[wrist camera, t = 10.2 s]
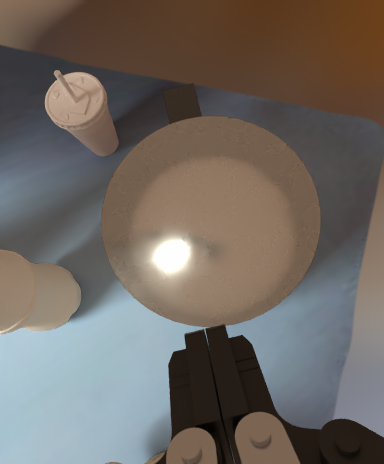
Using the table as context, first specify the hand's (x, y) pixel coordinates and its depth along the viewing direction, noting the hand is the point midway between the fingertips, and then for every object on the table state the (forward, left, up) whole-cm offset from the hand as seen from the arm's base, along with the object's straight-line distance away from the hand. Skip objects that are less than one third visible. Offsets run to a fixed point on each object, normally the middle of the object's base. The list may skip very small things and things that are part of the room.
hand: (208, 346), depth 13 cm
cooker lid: (-7, +9, -17) cm, 20 cm away
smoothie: (-24, +12, -27) cm, 38 cm away
